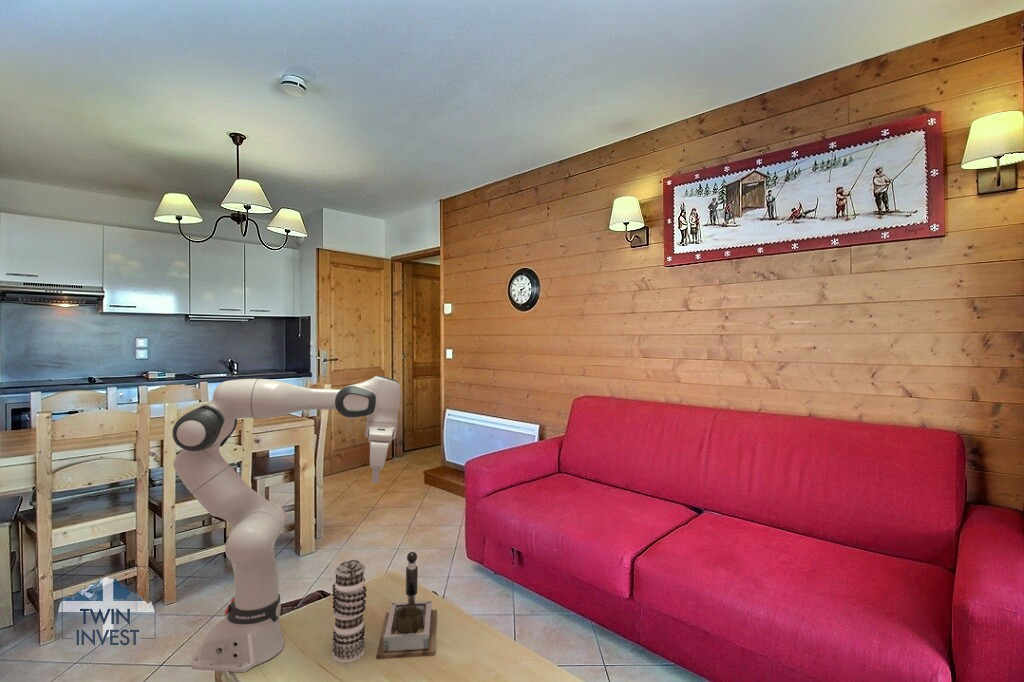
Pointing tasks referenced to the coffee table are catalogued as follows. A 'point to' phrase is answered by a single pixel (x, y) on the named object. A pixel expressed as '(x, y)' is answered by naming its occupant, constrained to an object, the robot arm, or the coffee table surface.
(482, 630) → the coffee table surface
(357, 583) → the decorative candle
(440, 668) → the coffee table surface
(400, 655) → the base
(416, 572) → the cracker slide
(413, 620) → the cup
